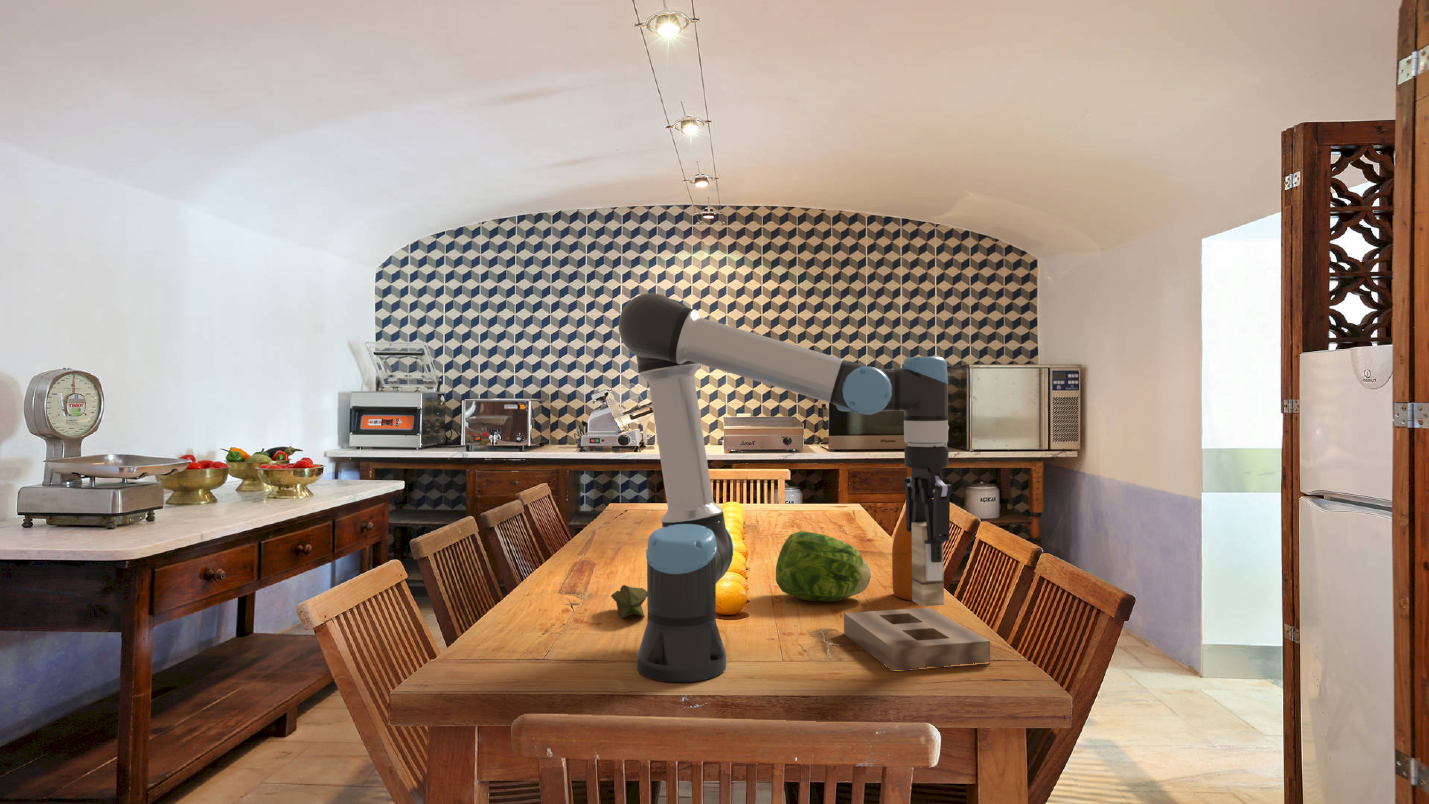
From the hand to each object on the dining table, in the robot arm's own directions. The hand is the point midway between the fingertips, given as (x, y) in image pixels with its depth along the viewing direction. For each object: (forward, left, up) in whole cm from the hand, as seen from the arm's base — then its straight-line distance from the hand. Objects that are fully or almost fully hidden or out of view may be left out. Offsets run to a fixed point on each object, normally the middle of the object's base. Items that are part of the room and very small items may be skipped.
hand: (927, 576), depth 145 cm
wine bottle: (+17, +39, -14) cm, 45 cm away
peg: (0, 0, -5) cm, 5 cm away
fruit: (-49, +37, -14) cm, 63 cm away
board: (0, +5, -14) cm, 15 cm away
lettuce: (-4, +41, -14) cm, 44 cm away
